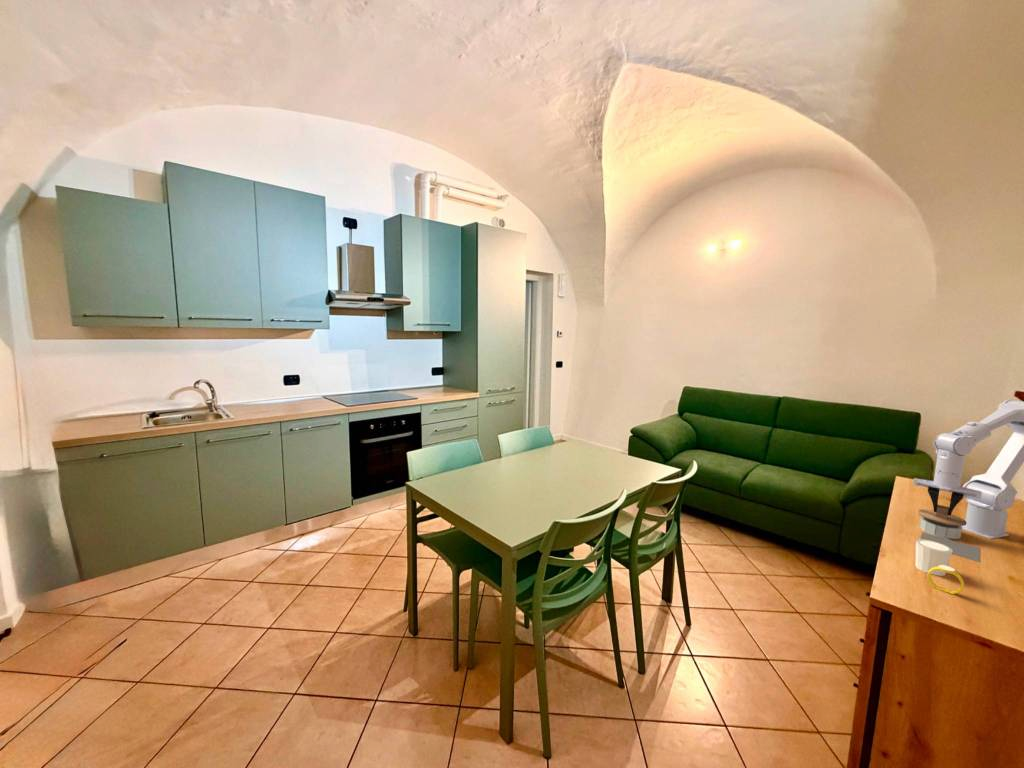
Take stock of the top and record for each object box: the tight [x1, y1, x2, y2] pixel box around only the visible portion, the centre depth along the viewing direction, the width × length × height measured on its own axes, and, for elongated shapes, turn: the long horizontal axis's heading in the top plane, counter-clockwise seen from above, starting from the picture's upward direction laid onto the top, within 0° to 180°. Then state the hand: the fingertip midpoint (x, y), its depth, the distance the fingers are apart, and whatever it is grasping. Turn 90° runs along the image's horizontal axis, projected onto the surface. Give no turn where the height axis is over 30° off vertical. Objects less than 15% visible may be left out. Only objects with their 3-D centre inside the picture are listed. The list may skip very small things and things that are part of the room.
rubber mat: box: [919, 532, 981, 563], centre depth 119 cm, size 12×12×1 cm
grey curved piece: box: [919, 515, 963, 540], centre depth 128 cm, size 9×9×4 cm
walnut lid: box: [917, 504, 966, 526], centre depth 127 cm, size 10×10×4 cm
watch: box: [927, 565, 965, 595], centre depth 98 cm, size 6×3×6 cm, turn 38°
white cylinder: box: [915, 538, 953, 577], centre depth 106 cm, size 7×7×7 cm
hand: (942, 512), depth 127 cm, fingers closed on walnut lid, 2 cm apart
